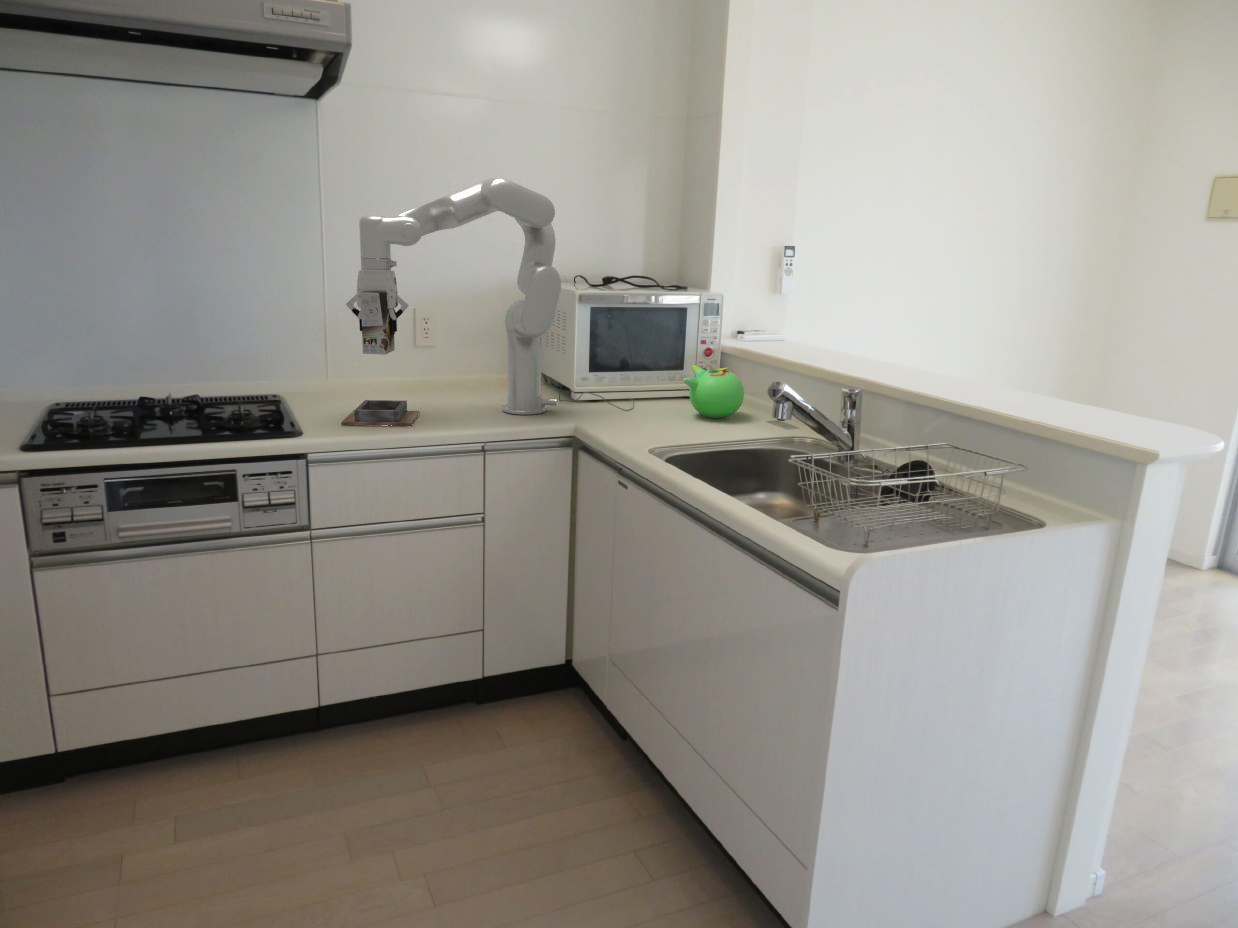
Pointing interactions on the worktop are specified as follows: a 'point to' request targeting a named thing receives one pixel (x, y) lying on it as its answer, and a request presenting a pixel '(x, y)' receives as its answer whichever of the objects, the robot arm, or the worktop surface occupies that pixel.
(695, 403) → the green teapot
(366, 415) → the dock
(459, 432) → the worktop surface
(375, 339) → the coffee box
